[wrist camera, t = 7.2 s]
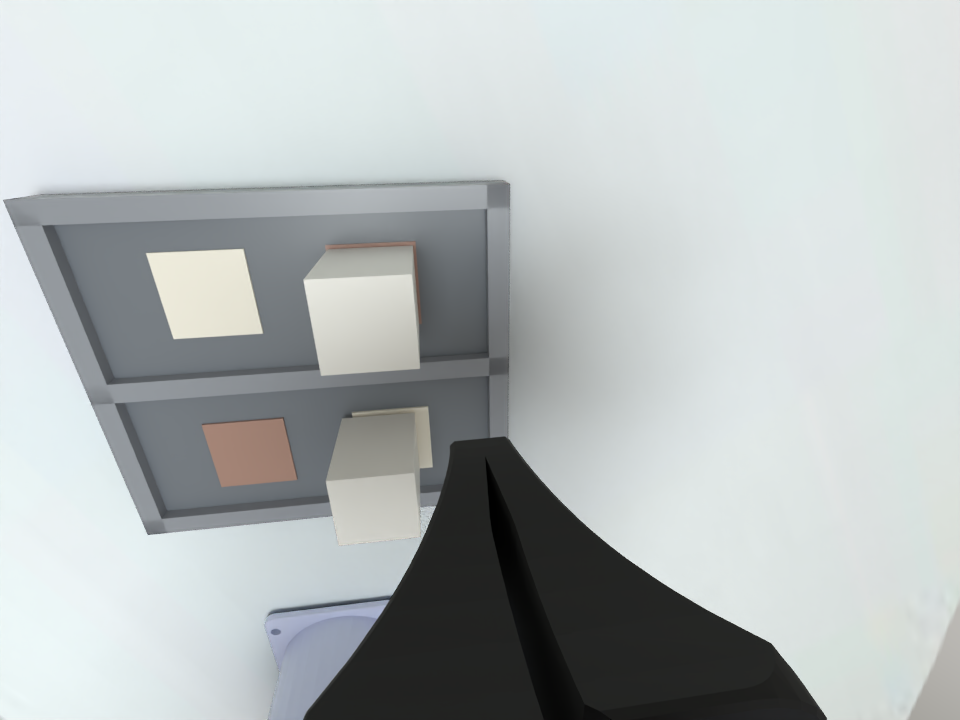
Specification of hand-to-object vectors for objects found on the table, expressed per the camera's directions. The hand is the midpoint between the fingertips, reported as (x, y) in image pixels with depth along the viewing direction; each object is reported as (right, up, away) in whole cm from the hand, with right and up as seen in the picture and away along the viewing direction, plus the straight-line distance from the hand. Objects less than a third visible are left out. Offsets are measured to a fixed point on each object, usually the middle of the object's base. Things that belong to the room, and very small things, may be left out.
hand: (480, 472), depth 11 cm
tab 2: (-4, -1, +9) cm, 10 cm away
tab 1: (-4, +5, +6) cm, 9 cm away
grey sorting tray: (-7, +3, +8) cm, 11 cm away
